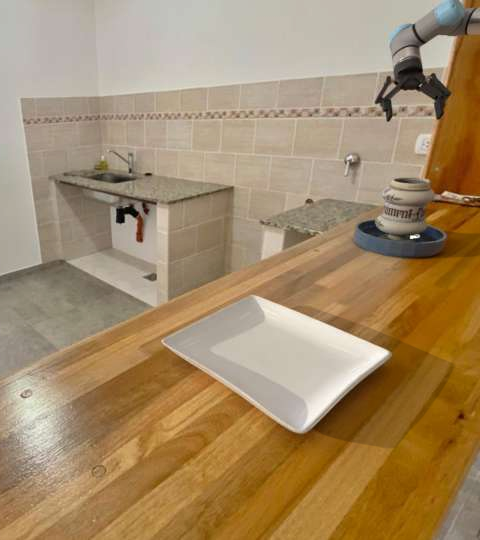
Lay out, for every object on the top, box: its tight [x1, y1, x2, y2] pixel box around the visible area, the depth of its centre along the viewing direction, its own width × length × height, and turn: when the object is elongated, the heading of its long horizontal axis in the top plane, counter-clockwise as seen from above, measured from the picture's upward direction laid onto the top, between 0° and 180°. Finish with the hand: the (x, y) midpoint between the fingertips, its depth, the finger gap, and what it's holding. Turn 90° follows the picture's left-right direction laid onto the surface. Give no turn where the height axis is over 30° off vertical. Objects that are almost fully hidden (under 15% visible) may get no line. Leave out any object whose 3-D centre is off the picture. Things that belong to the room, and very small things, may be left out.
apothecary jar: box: [375, 176, 436, 243], centre depth 107 cm, size 12×12×18 cm
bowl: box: [352, 218, 448, 259], centre depth 110 cm, size 21×21×4 cm
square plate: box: [161, 294, 393, 435], centre depth 66 cm, size 27×27×4 cm
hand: (414, 117), depth 119 cm, fingers open, 13 cm apart
